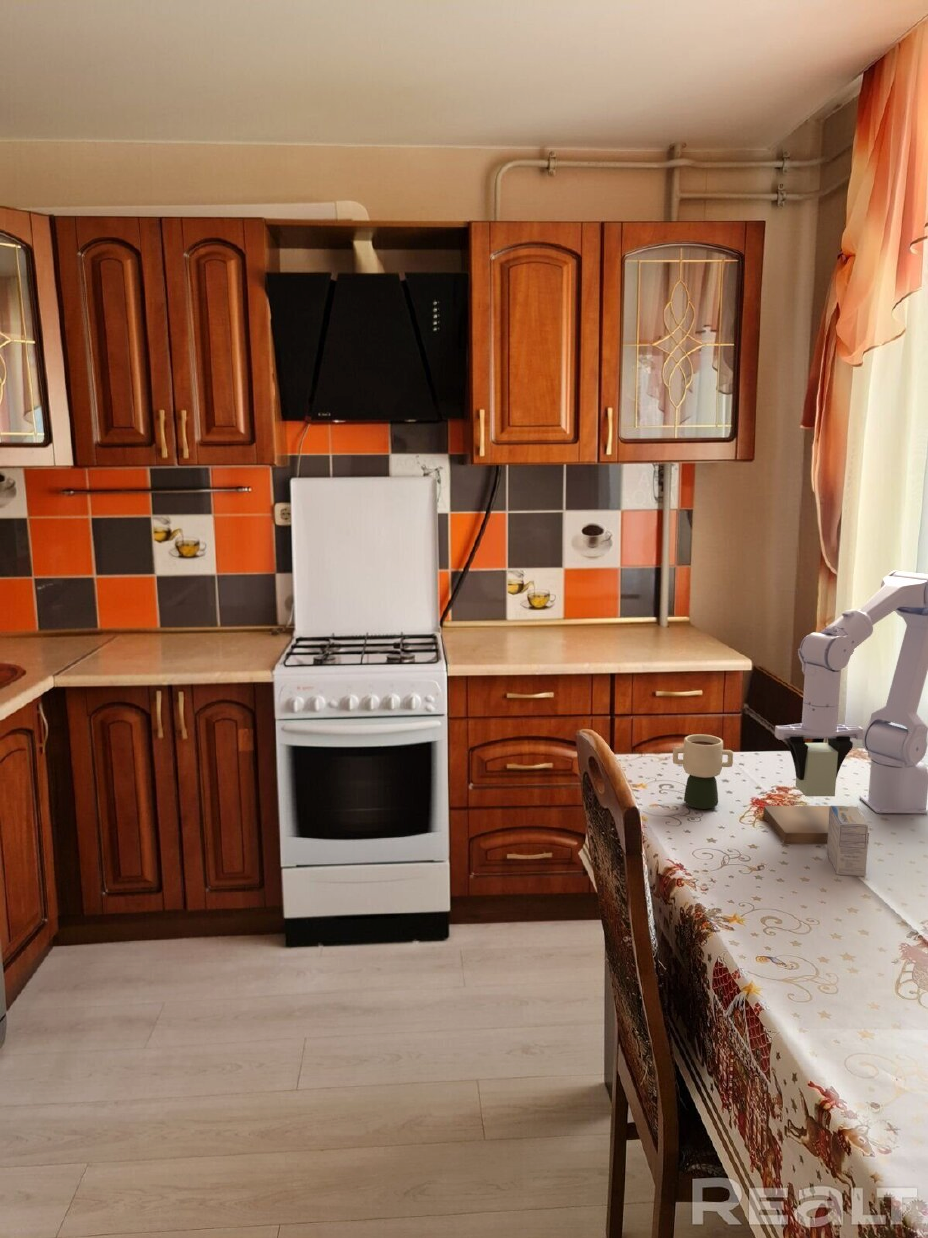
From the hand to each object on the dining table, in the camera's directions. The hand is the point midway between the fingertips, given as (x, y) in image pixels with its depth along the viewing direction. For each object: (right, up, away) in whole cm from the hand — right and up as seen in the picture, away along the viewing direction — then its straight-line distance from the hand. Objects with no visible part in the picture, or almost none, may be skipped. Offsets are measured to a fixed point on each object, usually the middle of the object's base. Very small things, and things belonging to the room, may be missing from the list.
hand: (815, 778), depth 154 cm
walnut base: (0, -9, +1) cm, 9 cm away
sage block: (0, -2, +1) cm, 2 cm away
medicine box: (0, -12, -12) cm, 17 cm away
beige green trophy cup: (-17, -8, +13) cm, 22 cm away
